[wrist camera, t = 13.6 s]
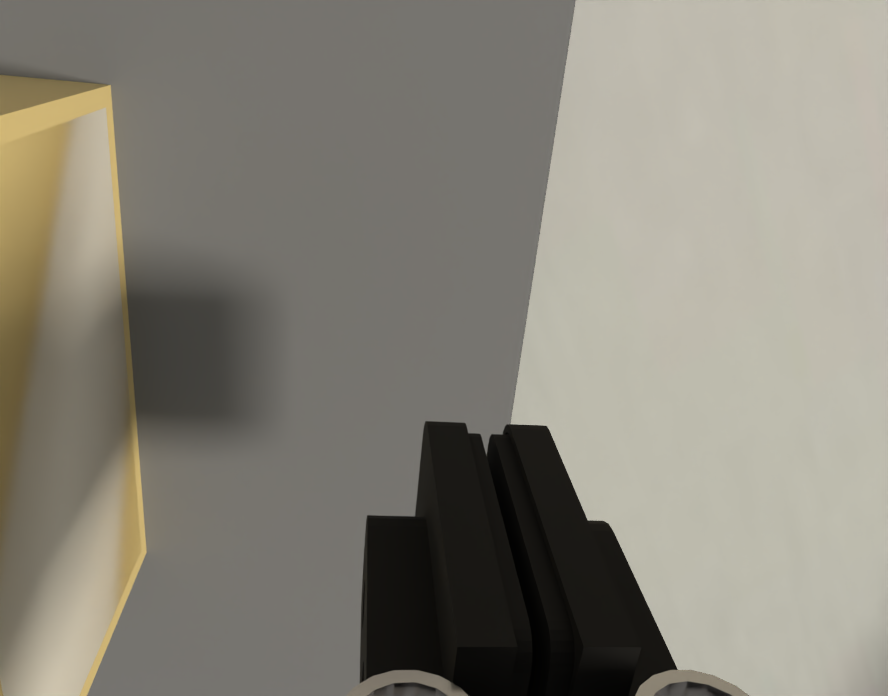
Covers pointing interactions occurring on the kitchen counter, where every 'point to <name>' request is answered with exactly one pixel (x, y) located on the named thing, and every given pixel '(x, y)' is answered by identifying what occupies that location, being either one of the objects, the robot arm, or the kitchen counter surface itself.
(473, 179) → the mat
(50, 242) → the card deck
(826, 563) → the kitchen counter surface
